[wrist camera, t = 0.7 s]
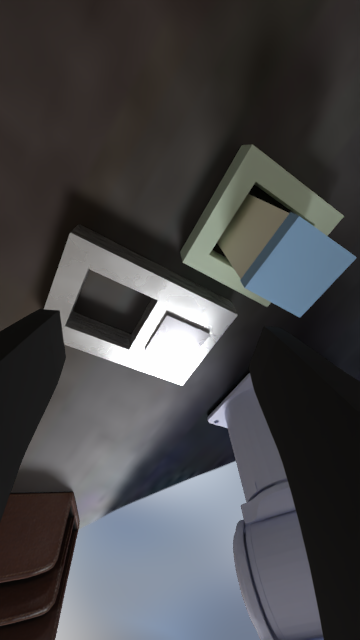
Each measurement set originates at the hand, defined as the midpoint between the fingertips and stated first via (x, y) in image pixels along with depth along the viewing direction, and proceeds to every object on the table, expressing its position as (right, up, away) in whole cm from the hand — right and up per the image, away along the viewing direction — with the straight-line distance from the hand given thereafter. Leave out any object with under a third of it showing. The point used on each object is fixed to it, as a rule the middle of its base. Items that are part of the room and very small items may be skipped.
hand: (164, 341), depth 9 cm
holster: (+5, +7, +8) cm, 12 cm away
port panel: (-3, +2, +11) cm, 11 cm away
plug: (+5, +7, +8) cm, 12 cm away
